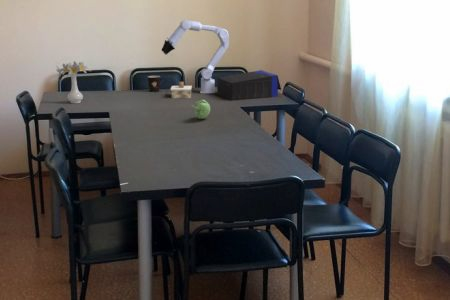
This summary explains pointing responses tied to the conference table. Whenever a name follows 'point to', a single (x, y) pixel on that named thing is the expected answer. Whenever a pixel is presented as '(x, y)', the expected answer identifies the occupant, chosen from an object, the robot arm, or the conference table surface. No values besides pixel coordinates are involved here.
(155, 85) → the coffee mug
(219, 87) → the headphone box
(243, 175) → the conference table surface
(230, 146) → the conference table surface
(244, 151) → the conference table surface
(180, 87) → the lid
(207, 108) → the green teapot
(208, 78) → the robot arm
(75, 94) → the flower vase
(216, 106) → the conference table surface
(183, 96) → the box
